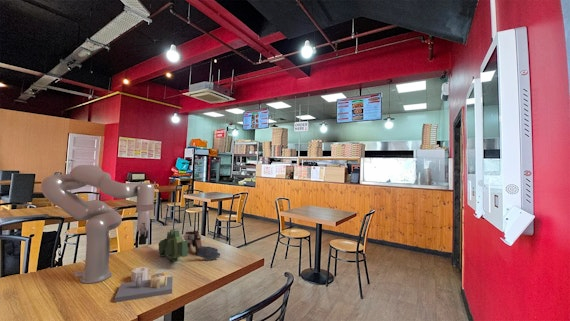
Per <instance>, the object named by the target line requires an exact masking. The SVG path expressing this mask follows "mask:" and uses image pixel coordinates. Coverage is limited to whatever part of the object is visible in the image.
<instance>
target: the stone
mask: <svg viewBox="0 0 570 321" xmlns="http://www.w3.org/2000/svg"><path fill="white" fill-rule="evenodd" d="M195 255H197V256H198V257H199V258H203V259H205V260H206V261H207V262H209V261H211V260H214V259H220V257H221V253H220V252H218V248H216V247H212V246H203V245H202V246H200V248H199V250H198V252H197V253H196V254H195Z"/></svg>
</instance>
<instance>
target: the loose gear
mask: <svg viewBox="0 0 570 321" xmlns="http://www.w3.org/2000/svg"><path fill="white" fill-rule="evenodd" d="M149 270H150V268H149V267H147V266H139V267H135V268H134V269H131V275H130V276H131V277H130V278H131V279H130V280H131V281H130V282H136V278H137V277H141V281H143V280H149V272H150V271H149Z"/></svg>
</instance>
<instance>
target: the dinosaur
mask: <svg viewBox="0 0 570 321" xmlns="http://www.w3.org/2000/svg"><path fill="white" fill-rule="evenodd" d="M166 235H167V236H166V238H163V239H162V240H160V241H159V242H158V250H159V251H158V253H159V257H167V258H168V259H169V260H170V263H171V262H176V261H178V259H179V258H186V257H188V251H189V247H188V245H187V241H186V240H184V238H183V236H180V230H179V229H178V230H175V229H170V231H167V234H166Z"/></svg>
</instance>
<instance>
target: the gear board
mask: <svg viewBox="0 0 570 321" xmlns="http://www.w3.org/2000/svg"><path fill="white" fill-rule="evenodd" d="M173 278H174V277H173V276H169V277H168V273H167V272H166V271H162V272H157V273H154V274H152V275H151V276H150V279H147V280H143V281H141V277H137V278H136V282H132V281H129V282H121V283H120V286H119V288H118V290H117V291H116V292H117V293H116V294H115V296H114V303H120V302H126V301H127V302H128V301H131V300H133V301H134V300H139V299H140V300H141V299H144V298H151V297H157V296H163V295H169V294H171V295H172V294H173Z"/></svg>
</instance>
